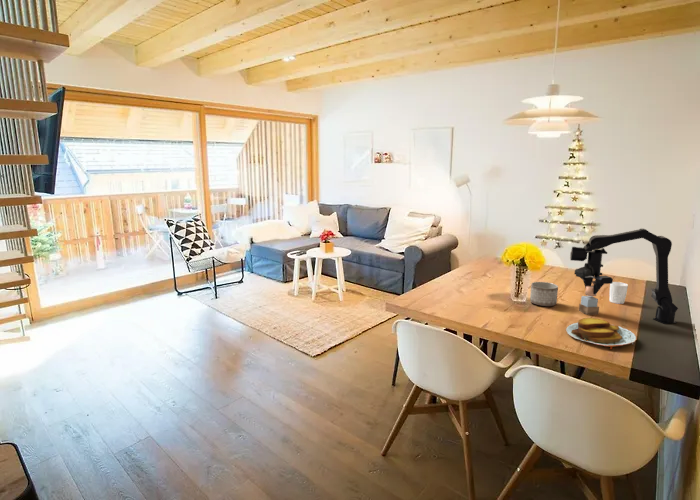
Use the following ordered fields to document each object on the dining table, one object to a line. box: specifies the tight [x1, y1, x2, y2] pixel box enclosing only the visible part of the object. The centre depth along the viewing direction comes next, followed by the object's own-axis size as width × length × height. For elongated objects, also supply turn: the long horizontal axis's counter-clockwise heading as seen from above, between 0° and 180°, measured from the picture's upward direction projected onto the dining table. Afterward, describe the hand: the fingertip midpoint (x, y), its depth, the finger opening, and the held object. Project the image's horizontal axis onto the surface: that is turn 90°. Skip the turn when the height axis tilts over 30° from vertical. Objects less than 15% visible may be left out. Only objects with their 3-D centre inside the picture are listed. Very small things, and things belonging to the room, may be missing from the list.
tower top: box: [580, 295, 599, 307], centre depth 194 cm, size 5×5×4 cm
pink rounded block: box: [585, 285, 597, 297], centre depth 193 cm, size 5×5×4 cm
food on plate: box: [565, 317, 638, 350], centre depth 166 cm, size 25×25×7 cm
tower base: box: [578, 303, 600, 316], centre depth 195 cm, size 6×6×4 cm
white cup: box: [608, 281, 629, 305], centre depth 209 cm, size 8×8×10 cm
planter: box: [529, 281, 559, 307], centre depth 208 cm, size 13×13×10 cm
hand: (591, 292), depth 193 cm, fingers closed on pink rounded block, 4 cm apart
